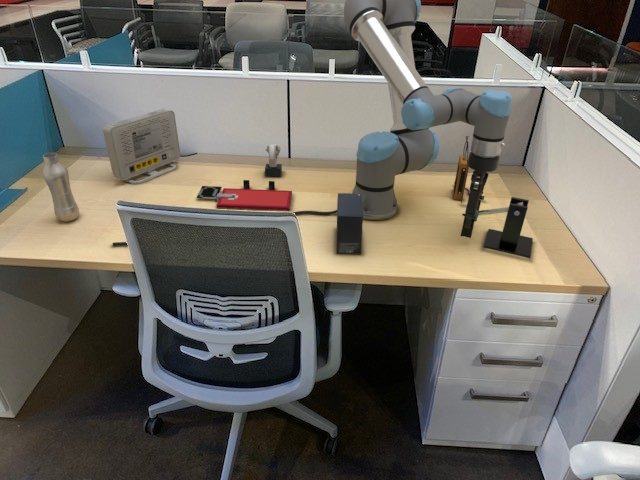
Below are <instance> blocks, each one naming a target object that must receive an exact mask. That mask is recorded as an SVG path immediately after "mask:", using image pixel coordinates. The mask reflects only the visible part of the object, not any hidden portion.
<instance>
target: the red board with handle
mask: <svg viewBox="0 0 640 480" xmlns="http://www.w3.org/2000/svg"><path fill="white" fill-rule="evenodd" d="M242 182H243V188H232V187H231V188H229V187H223V186H217V185H216V186H213V185H210V186H209V185H202V186H201V187H200V190H199V191H198V193H197V196H196V199H212V200H216V208H218V209H220V208H221V209H222V208H223V209H241V210H242V209H243V210H244V209H245V210H268V211H290V209H291V202H292V196H293V191H292V190H278V189H276V184H275V183H276V182H275V180H269V181H268V189H255V188H254V189H253V188H250V187H251V186H250V185H251V183H250V179H243V181H242ZM222 188H223V189H222ZM221 190H222V191H221Z"/></svg>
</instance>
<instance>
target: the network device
mask: <svg viewBox="0 0 640 480" xmlns="http://www.w3.org/2000/svg"><path fill="white" fill-rule="evenodd" d="M176 120H177V119H176V115H175V112H174V110H171V109H167V108H160V109H156V110H153V111H150V112H147V113H143V114H140V115H136V116H133V117H132V116H131V117H129V118H126V119H122V120H118V121H116V122H112V123H108V124H105V125H104V126H103V128H102V134H103V138H104V142H105V145H106V150H107V155H108V159H109V164H110V167H111V171H112V176H113V177H114V178H117V179H118V180H121V181H124V182H127V183H129V184H133V185H139V184H143V183H145V182H148V181H150V180H152V179H155V178H158V177H159V176H162V175H165V174H167V173H170V172H172V171H175V170H176V169H177V165H176V164H175V163H173V162H174V161H175V162H176V161H178V160H179V159H180V158H181V148H180V142H179V134H178V129H177V128H178V127H177V122H176ZM165 165H166V166H168V167H170V168H168V169H167V168H166V169H165V170H162V171H156V169H157V168H160V167H162V166H165ZM142 174H145V175H148V177H144V178H143V179H140V180H134V179H131V178H135V177H136V176H139V175H142Z"/></svg>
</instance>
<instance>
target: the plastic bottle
mask: <svg viewBox="0 0 640 480" xmlns="http://www.w3.org/2000/svg"><path fill="white" fill-rule="evenodd" d="M42 159H43V162H44V164H45V165H44V167H43V170H42V176H43V179H44V181H45V183H46V185H47V188H48V190H49V192H50V194H51V198H52V199H51V200H52V203H53V211H54V215H55V217H56V218H57V219H58V220H59V221H60V222H71V221H74V220H76V219H78V217H79V215H80V209H79V205H78V203H77V202H76V200H75V197H74V195H73V192H72V188H71V183H70V175H69V169H67V167H66V166H65V164H63V163H62V162H60V158H59V155H58V153H57V152H47V153H44V154H43V155H42Z"/></svg>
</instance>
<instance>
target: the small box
mask: <svg viewBox="0 0 640 480" xmlns="http://www.w3.org/2000/svg"><path fill="white" fill-rule="evenodd" d="M336 201H337V203H336V204H337V205H336V210H337V213H336V254H338V255H362V244H363V243H362V242H363V241H362V239H363V224H364V223H363V222H364V219H363V207H362V195H361V194H358V193H352V192H338V193H337V200H336Z"/></svg>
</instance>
